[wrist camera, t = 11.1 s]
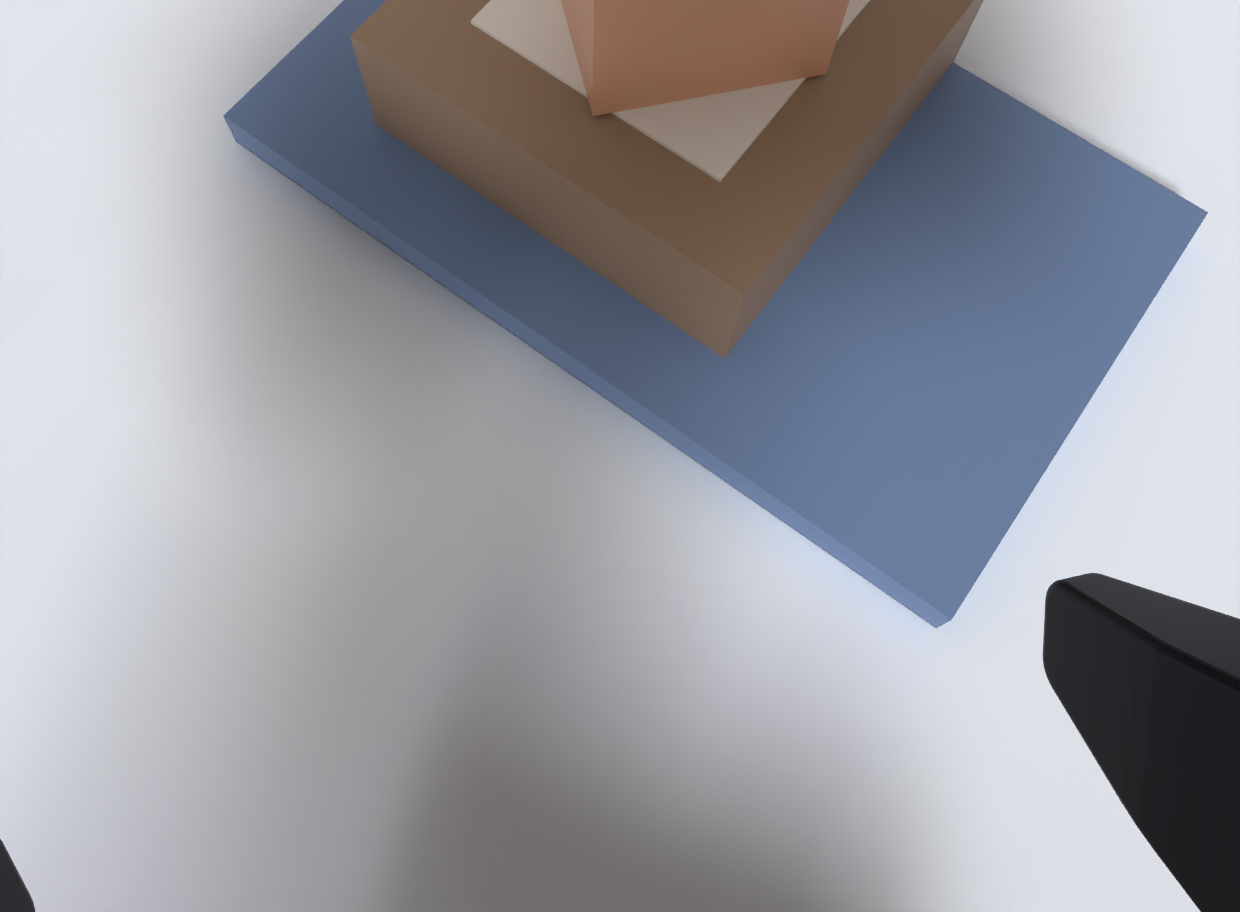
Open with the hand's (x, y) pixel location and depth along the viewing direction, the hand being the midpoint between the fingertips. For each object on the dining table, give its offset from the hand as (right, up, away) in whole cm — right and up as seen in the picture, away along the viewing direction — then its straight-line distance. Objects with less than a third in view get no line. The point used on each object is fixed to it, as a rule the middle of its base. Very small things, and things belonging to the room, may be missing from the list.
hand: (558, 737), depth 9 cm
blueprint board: (+3, +9, +17) cm, 19 cm away
